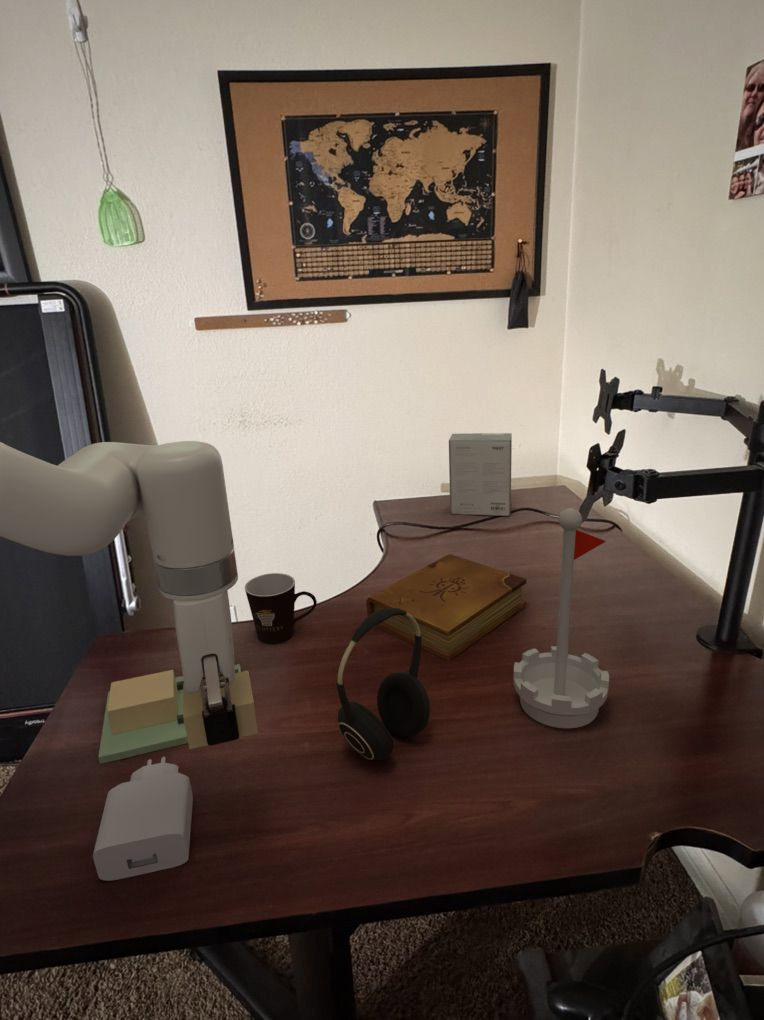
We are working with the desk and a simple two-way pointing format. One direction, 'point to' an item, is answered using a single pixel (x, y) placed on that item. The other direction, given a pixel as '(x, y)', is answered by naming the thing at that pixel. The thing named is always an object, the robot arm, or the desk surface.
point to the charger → (145, 823)
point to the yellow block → (239, 697)
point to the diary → (449, 604)
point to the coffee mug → (274, 606)
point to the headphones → (384, 700)
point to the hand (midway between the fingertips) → (221, 718)
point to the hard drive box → (480, 473)
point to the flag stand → (563, 654)
